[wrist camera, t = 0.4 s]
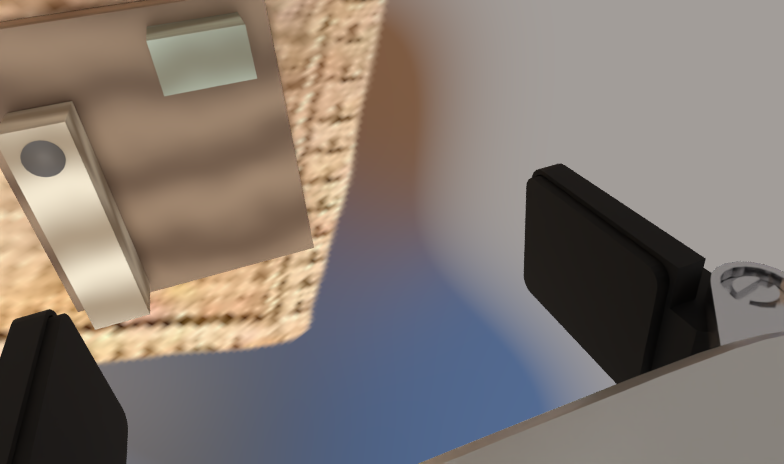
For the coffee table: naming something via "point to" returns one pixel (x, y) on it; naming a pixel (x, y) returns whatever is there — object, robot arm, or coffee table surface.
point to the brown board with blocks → (170, 127)
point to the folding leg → (76, 211)
